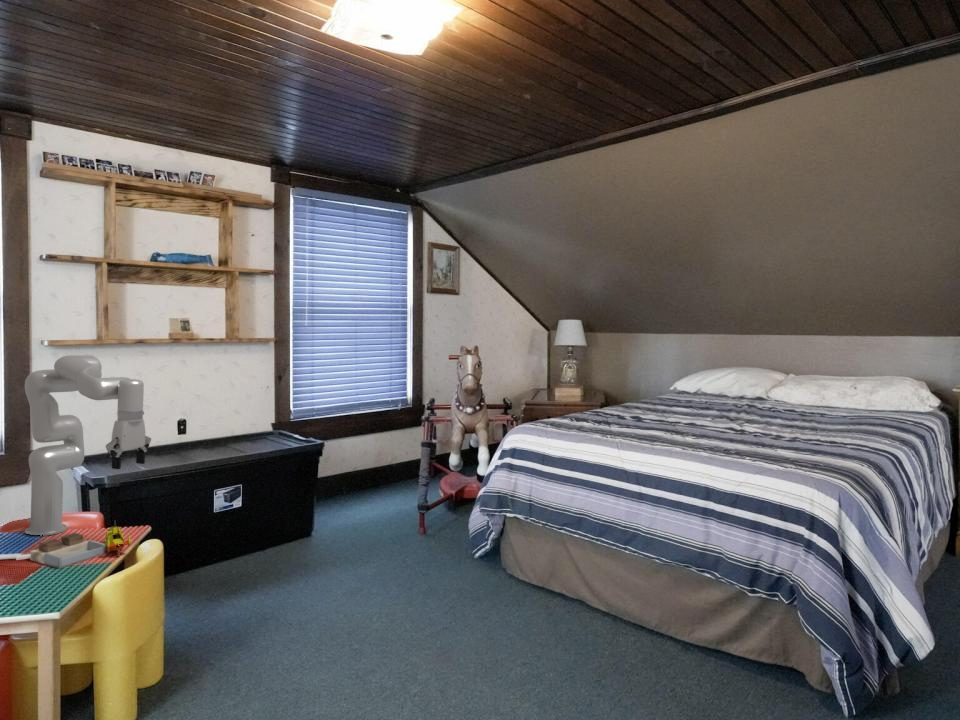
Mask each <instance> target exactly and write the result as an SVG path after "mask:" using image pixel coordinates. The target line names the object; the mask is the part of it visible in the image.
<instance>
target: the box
mask: <svg viewBox="0 0 960 720" xmlns="http://www.w3.org/2000/svg"><path fill="white" fill-rule="evenodd" d="M87 541H88V550H84V551H81V552H78V553H74V554H71V555H68V556H64V557H61V556H57V555H54V554H50V553H44V564H43V565H45V566H48V567H49V566H50V567H51V568H52V567H53V568H55V569H59V570H60V569H62V568H66V567H68V566H72V565H75V564H78V563H81V562H84V561H88V560H91V559H94V558H97V557H96V556H98V557H100V556H99V555H101V554H104V553H105V554H106V546H105V543H103V542H99V541H95V540H91V539H89V540H87ZM105 554H104V555H105ZM101 556H102V555H101ZM93 557H94V558H93Z"/></svg>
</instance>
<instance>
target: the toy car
mask: <svg viewBox="0 0 960 720" xmlns="http://www.w3.org/2000/svg"><path fill="white" fill-rule="evenodd" d="M113 523H114V524H113V526H111V527H110V528H109V529H107V531H106V532H105V542H104V544H105V548H107V550H108V551H109V552H116V554H117V556H118V555H119V556H121V555H122V554H123V553H122V551H121V550H124V547H125V546H131V536H128V537H127V540H126V541H125V539H124V534H123V533H122V532H124V529H120V528H119V526H117V524H116V523H117V522H116V520H114V522H113ZM118 544H119V545H120V546H119V547H116V546H118ZM121 546H122V547H121ZM115 550H116V551H115Z"/></svg>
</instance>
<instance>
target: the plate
mask: <svg viewBox="0 0 960 720" xmlns="http://www.w3.org/2000/svg"><path fill="white" fill-rule="evenodd" d="M88 541H89V540H86V539H83V542H82V543H79V544H75V545H72V546H67V545H63V544H62V549H58V550H55V551H51V552H48V553H50V554H54V555H57V556H61V557H64V556H68V555H71V554H74V553H78V552H81V551H84V550H88ZM44 553H47V552H44V551H40V550H39V548H37V549H36V548H35V549H33V550H30V561H32V562H36V563H39V564H42V565H45V564H44Z"/></svg>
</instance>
